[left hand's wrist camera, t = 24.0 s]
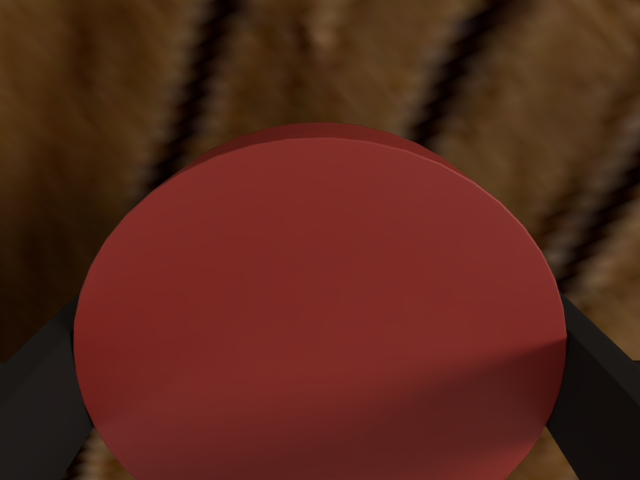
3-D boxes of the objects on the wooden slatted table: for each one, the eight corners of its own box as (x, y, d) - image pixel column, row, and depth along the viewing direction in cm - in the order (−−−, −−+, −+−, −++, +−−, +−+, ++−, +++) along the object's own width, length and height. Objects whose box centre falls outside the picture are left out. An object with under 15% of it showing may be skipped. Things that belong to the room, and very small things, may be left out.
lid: (168, 485, 15) (141, 561, 12) (64, 146, 11) (-4, 168, 8) (510, 459, 14) (545, 533, 12) (537, 97, 10) (597, 107, 8)
